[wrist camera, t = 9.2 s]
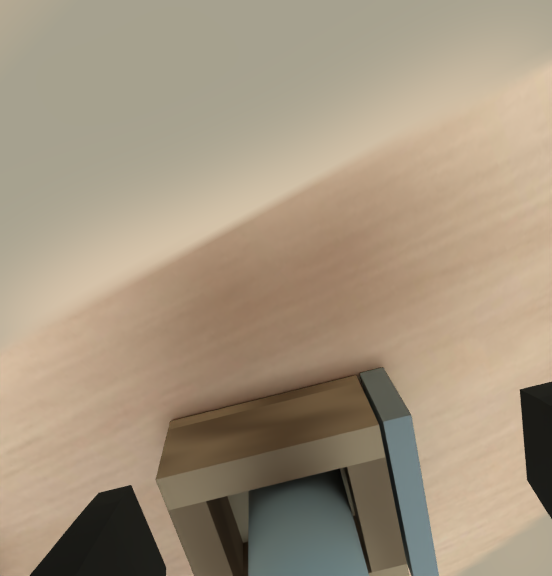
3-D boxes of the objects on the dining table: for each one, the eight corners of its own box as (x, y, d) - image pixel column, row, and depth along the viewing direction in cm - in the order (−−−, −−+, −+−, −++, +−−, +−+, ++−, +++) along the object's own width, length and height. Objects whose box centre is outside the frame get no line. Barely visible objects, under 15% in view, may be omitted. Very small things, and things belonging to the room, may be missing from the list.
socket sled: (222, 561, 22) (218, 636, 19) (170, 421, 20) (155, 479, 17) (387, 521, 22) (412, 589, 19) (356, 375, 20) (378, 424, 16)
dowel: (261, 526, 21) (269, 793, 13) (238, 453, 20) (229, 693, 11) (348, 506, 21) (417, 760, 12) (331, 431, 20) (393, 656, 11)
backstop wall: (389, 518, 22) (415, 586, 19) (359, 372, 20) (383, 421, 16) (410, 513, 22) (439, 580, 19) (383, 367, 20) (411, 414, 16)
